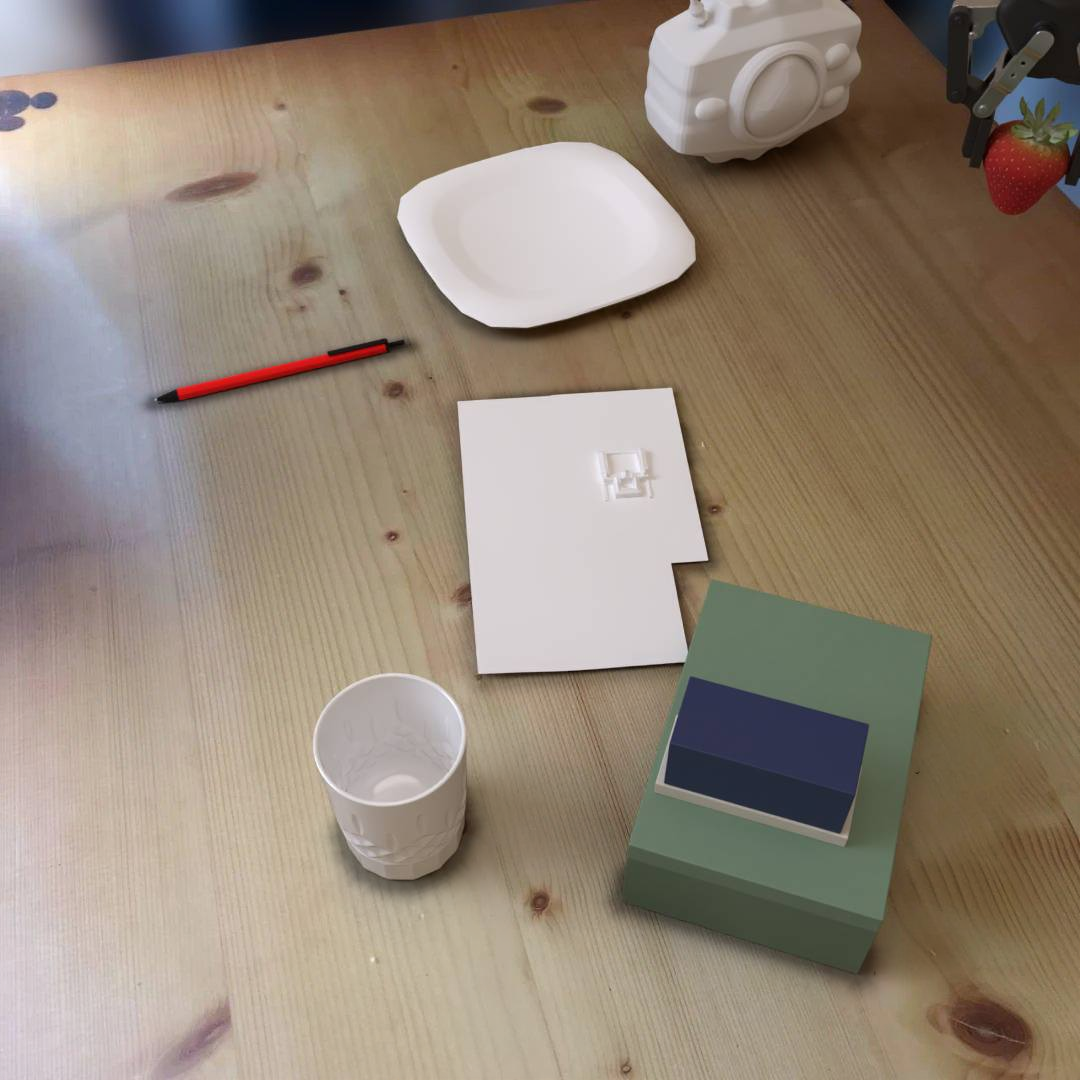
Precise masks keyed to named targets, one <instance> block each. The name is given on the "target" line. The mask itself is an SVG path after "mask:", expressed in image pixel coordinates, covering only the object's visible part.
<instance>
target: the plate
mask: <svg viewBox="0 0 1080 1080" xmlns="http://www.w3.org/2000/svg"><path fill="white" fill-rule="evenodd" d="M396 219H397V222H398V224H399V226H400V229H401V231H402V234H403V236H404V238H405V240H406V243H407V245H408V246H409V247H410V249H411V251H412V252H413V254H414V255H415V257H416V258H417V260H418V262H419V263H420V264H421V266H422V268H423V269H424V271H425V272H426V274H428V276H429V278H431V280H432V282H433V284H434V285H435V286H436V288H437V289H438V290H439V292H440V293H441V294H442V295H443V296H444V297H445V298H446V299H447V301H449V303H450V304H452V306H453V307H454V308H455V309H456V311H458V312H459V313H460V314H461V315H462V316H464V317H466V318H468V319H470V320H473V321H475V322H477V323H479V324H482V325H483V326H485V327H487V328H489V329H494V330H495V329H497V330H499V329H500V330H531V329H535V328H540V327H544V326H548V325H552V324H558V323H561V322H566V321H569V320H573V319H576V318H578V317H582V316H586V315H589V314H592V313H595V312H598V311H601V310H605V309H608V308H610V307H614V306H617V305H620V304H622V303H625V302H628V301H631V300H634V299H637V298H640V297H642V296H646V295H647V294H648V295H649V294H650V293H652V292H654V291H657V290H658V289H661V288H663V287H665V286H668V285H670V284H673V283H674V282H677V281H678V280H679V279H680V278H681V277H682V276H683V275H685V273H686V272H687V271H688V270H689V269H690V268H691V267H692V266H693V265H694V264H695V263H696V261H697V260H696V259H697V257H696V239H695V238H696V237H694V235H693V234H692V232H691V231H690V228H688V226H687V225H686V223H685V221H684V220H683V218H682V216H681V215H680V214H679V213H678V212H677V211H676V210H675V209H674V207H673V206H672V205H671V204H670V203H669V202H668V200H667V199H666V198H665V197H664V196H663V195H662V193H661V192H660V191H658V189H656V187H655V186H654V185H653V184H652V183H651V182H650V181H649V179H648V178H646V177H645V175H644V174H643V173H642V172H641V171H640V170H639V169H637V168H636V167H635V166H634V165H632V164H631V163H630V162H629V161H628V160H627V159H626V158H624V157H623V156H622V155H620V154H619V153H618V152H615V151H613V150H610V149H608V148H606V147H603V146H601V145H598V144H596V143H594V142H587V141H586V142H580V141H556V142H551V143H546V144H541V145H534V146H530V147H525V148H520V149H517V150H514V151H511V152H507V153H503V154H499V155H495V156H492V157H488V158H485V159H481V160H478V161H474V162H471V163H468V164H465V165H462V166H458V167H455V168H452V169H449V170H447V171H445V172H442V173H439V174H436V175H434V176H432V177H429V178H426V179H424V180H421V181H420V182H418V183H417V184H416V185H415V186H414V187H412V188H411V189H410V190H408V191H407V192H406V193H405V194H403V195H402V196H401V197H400V200H399V206H398V212H397V215H396Z"/></svg>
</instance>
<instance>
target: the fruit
mask: <svg viewBox="0 0 1080 1080" xmlns="http://www.w3.org/2000/svg"><path fill="white" fill-rule="evenodd" d="M1029 102H1030V101H1029V100H1028V101H1027V102H1026V100H1025V97H1024V96H1022V97H1020V100H1019V110H1020V113H1021V116H1023V118H1022V119H1013V120H1009V121H1006V122H1003V123H1001V124H999V125H997V126H996V127H995V128H994V129H993V130H991V132H990V134H989V138H988V141H987V145H986V148H985V152H984V155H983V159H982V166H983V170H984V173H985V177H986V178H985V179H986V184H987V189H988V192H989V196H990V199H991V201H992V203H993V205H994V207H995V208H996V209H997V210H998V211H999V212H1001V213H1002V214H1005V215H1007V216H1017V215H1021V214H1023V213H1025V212H1027V211H1028V210H1030V209H1031V208H1032V207H1033V206H1035V205H1036V204H1037V203H1038V202H1039V201H1040V200H1041V199H1042V197H1043V196H1044V195H1045V194H1046V193H1047V192H1048V191H1049V190H1050V189H1051V188H1053V187H1054V186H1056V185H1058V184H1059V182H1061V180H1063V178H1064V177H1065V176H1066V174H1067V172H1068V169H1069V167H1070V164H1071V150H1070V147H1069V144H1068V141H1069V139H1070V138H1073V137H1075V136H1076V135H1078V133H1079V129H1077V128H1073V126H1074V123H1075V120H1073V121H1068V122H1061V123H1058V124H1055V125H1054V123H1055V122H1056V121H1057V119H1058V118H1059V116H1060V113H1061V111H1062V108H1061V102H1060V101H1058V102H1057V103H1056V104H1055V105H1054V106H1053V107H1052V108H1051V109H1050V110H1049V112H1048V113H1047V115H1046V116H1045V113H1046V108H1045V107H1046V105H1045V104H1046V102H1045V97H1042V98H1041V99H1039V101H1038V102H1037V104H1036V105H1035V109H1034V114H1033V112H1032V111H1031V110H1030V108H1029V106H1028V104H1029Z"/></svg>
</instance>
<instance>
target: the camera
mask: <svg viewBox="0 0 1080 1080" xmlns="http://www.w3.org/2000/svg"><path fill="white" fill-rule="evenodd" d="M689 2H690V3H689V7H688V9H686V10H684V11H682V12H680V13H679V14H677V15H675V16H673V17H672V18H670V19H668V20H667V21H665V22H663V23H662V24H660V25H659V26H657V28H655V31H654V33H653V35H652V36H653V37H652V40H651V42H650V45H649V49H648V59H649V63H648V69H647V74H646V89H645V92H644V98H643V99H644V105H645V106H644V107H645V112H646V113H645V114H646V118H647V122H648V123H649V124H650V125H651V127H652V128H653V129H654V130H655V132H656V133H657V134H658V136H660V138H661V139H662V140H663V141H664V142H665V143H666V145H668V146H669V147H670V148H671V149H672V150H673V151H674V152H676V153H678V154H681V155H687V156H694V157H695V156H696V157H697V156H698V157H703V158H704V159H705V160H706V161H708V162H709V163H711V164H721V163H725V162H728V161H730V160H732V159H744V160H748V161H755V160H756V159H757V160H758V158H760V157H762V155H764V154H765V153H766V152H768V151H771V149H774V148H782V147H784V146H786V145H788V144H791V143H792V142H793V141H795V140H797V138H799V137H801V136H802V135H803V134H804V133H807V132H809V131H811V130H813V129H814V128H816V127H818V126H820V125H822V124H824V123H826V122H828V121H830V120H832V119H833V118H835V117H838V116H839V115H840V114H842V113H843V112H844V111H845V110H846V108H847V106H848V104H849V100H850V85H851V84H852V82H853V81H854V80H855V79H856V78H857V77H858V76H859V74H860V73H861V71H862V61H861V58H860V55H859V53H858V49H857V45H858V43H859V41H860V37H861V33H862V20H861V19H860V17H859V15H857V14H856V13H855V12H854V10H852V9H851V8H850V7H849V6H848V5H846V4H845V3H844V2H843V1H842V0H700V1H699V0H689Z"/></svg>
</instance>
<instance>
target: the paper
mask: <svg viewBox="0 0 1080 1080" xmlns="http://www.w3.org/2000/svg"><path fill="white" fill-rule="evenodd" d="M456 403H457V413H458V414H457V415H458V430H459V431H458V432H459V441H460V442H459V444H460V455H461V456H460V457H461V458H460V459H461V469H462V470H461V472H462V483H463V484H462V485H463V498H464V499H463V501H464V514H465V526H466V527H465V528H466V537H467V553H468V564H469V578H470V592H471V593H470V594H471V603H472V604H471V605H472V619H473V629H474V630H473V631H474V641H475V642H474V643H475V654H476V664H477V675H484V674H486V675H487V674H488V675H489V674H507V673H508V674H509V673H510V674H513V673H538V672H539V673H541V672H543V673H545V672H568V671H584V670H585V671H586V670H599V669H600V670H601V669H613V668H614V669H615V668H625V667H637V666H638V667H639V666H650V665H663V664H675V663H676V664H677V663H685V661H686V657H687V654H688V651H689V648H688V645H687V639H686V635H685V629H684V625H683V624H684V623H683V619H682V613H681V608H680V603H679V597H678V593H677V587H676V582H675V576H674V571H673V567H672V566H673V565H672V564H676V563H677V564H678V563H679V564H680V563H692V562H693V563H694V562H695V563H696V562H707V561H709V558H708V557H709V556H708V551H707V547H706V543H705V537H704V533H703V529H702V524H701V520H700V519H701V518H700V514H699V509H698V505H697V501H696V500H697V499H696V495H695V491H694V487H693V482H692V481H693V480H692V477H691V472H690V467H689V463H688V458H687V453H686V448H685V443H684V438H683V434H682V429H681V425H680V424H681V423H680V420H679V416H678V415H679V414H678V411H677V406H676V401H675V396H674V392H673V387H660V388H645V389H630V390H629V389H627V390H616V391H615V390H611V391H595V392H581V393H580V392H579V393H564V394H563V393H562V394H551V395H542V396H541V395H540V396H528V397H527V396H526V397H525V396H524V397H512V398H511V397H510V398H508V397H507V398H492V399H491V398H490V399H476V400H475V399H474V400H459V401H457V402H456Z"/></svg>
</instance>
